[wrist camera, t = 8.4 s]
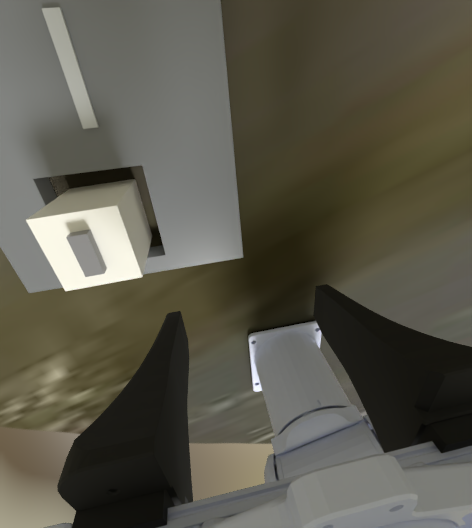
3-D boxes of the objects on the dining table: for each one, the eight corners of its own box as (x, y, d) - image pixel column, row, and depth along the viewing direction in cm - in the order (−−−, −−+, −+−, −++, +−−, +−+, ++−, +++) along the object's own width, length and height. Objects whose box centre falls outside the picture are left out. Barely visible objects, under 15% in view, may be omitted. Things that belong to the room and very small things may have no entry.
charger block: (152, 235, 21) (141, 282, 15) (94, 245, 20) (61, 297, 15) (135, 178, 19) (114, 209, 13) (69, 188, 18) (19, 224, 13)
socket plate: (239, 247, 23) (243, 258, 21) (40, 279, 21) (27, 294, 19) (214, -16, 14) (218, -33, 13) (-117, 4, 13) (-163, -12, 11)
